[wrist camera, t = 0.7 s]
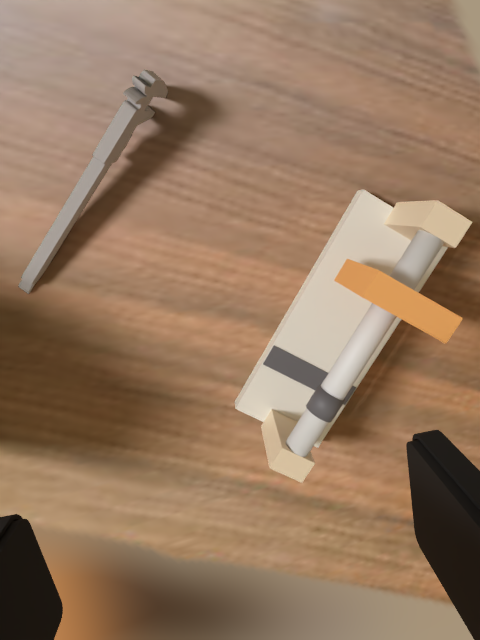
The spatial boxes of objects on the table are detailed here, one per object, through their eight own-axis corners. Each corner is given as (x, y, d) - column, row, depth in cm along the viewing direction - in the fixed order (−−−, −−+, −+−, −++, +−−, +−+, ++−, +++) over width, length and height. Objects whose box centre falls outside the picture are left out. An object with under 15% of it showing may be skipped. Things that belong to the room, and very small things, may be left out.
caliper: (158, 84, 33) (144, 55, 26) (169, 94, 33) (158, 67, 27) (20, 285, 36) (-20, 300, 30) (31, 293, 36) (-6, 309, 30)
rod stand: (360, 184, 35) (402, 177, 27) (445, 236, 37) (507, 243, 29) (232, 405, 40) (235, 453, 32) (311, 443, 41) (334, 498, 33)
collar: (347, 258, 33) (379, 270, 26) (415, 297, 34) (463, 318, 27) (333, 280, 33) (362, 297, 27) (402, 318, 34) (445, 343, 28)
